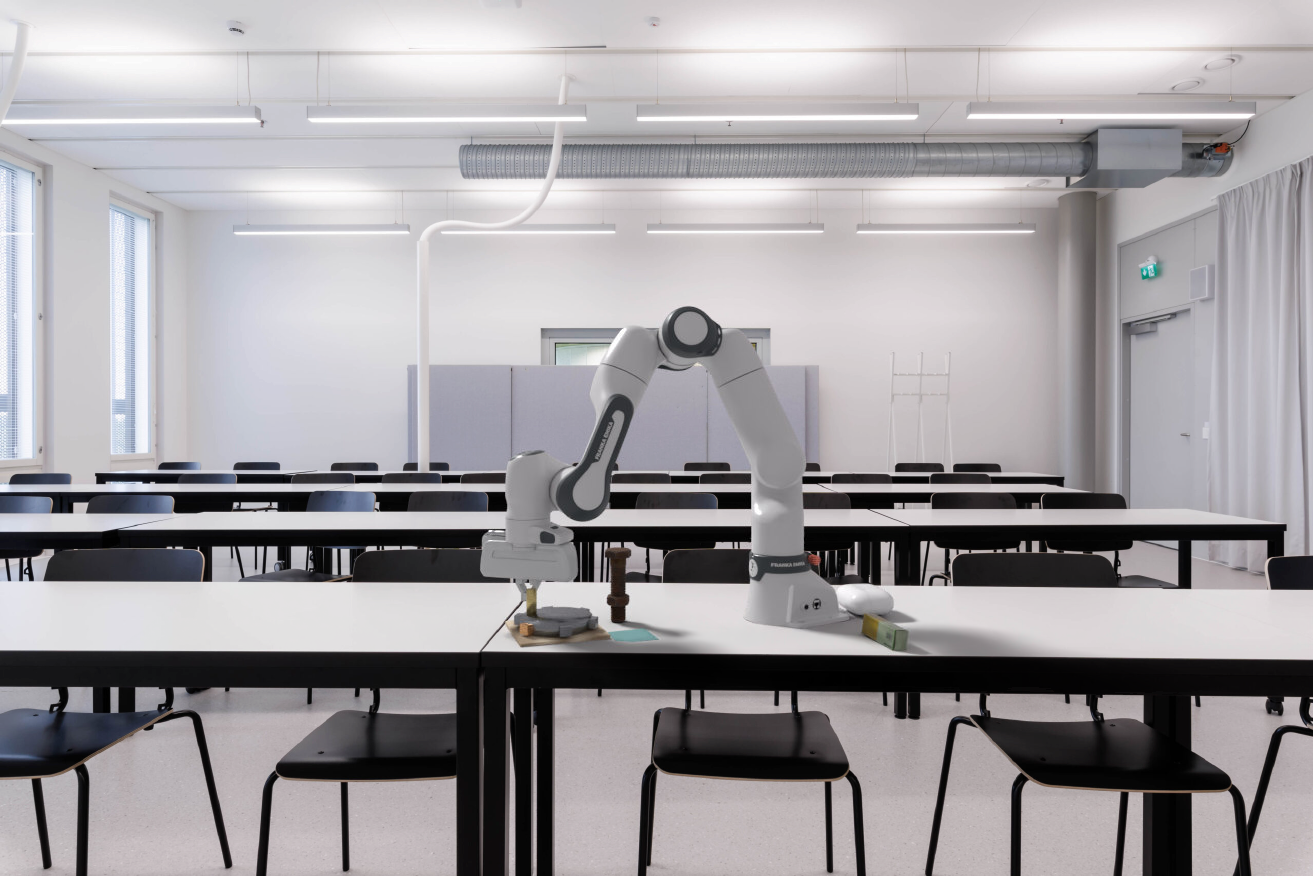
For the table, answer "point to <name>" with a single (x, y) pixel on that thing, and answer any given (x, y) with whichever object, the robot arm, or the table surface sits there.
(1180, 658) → the table surface
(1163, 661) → the table surface
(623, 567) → the bolt
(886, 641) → the medication box
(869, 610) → the earbud case
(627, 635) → the pad
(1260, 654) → the table surface
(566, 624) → the sprocket
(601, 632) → the sprocket base
